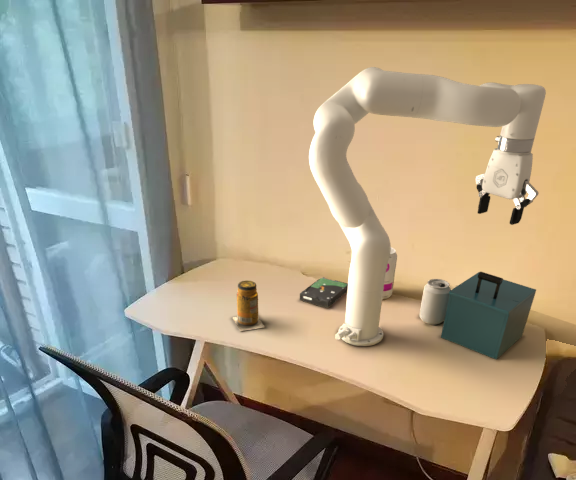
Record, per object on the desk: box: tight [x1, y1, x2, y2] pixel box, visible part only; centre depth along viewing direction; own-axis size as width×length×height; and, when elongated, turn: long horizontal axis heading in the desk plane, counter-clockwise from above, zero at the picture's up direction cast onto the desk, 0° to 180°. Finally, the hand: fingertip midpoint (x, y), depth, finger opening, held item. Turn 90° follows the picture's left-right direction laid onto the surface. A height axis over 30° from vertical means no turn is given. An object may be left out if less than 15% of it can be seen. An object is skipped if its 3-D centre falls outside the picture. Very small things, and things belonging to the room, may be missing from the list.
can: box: [418, 278, 452, 326], centre depth 158 cm, size 8×8×12 cm
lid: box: [449, 271, 537, 314], centre depth 143 cm, size 17×17×7 cm
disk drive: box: [299, 276, 348, 309], centre depth 172 cm, size 10×3×15 cm
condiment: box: [232, 280, 265, 331], centre depth 155 cm, size 7×8×12 cm
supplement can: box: [382, 246, 398, 300], centre depth 170 cm, size 8×8×15 cm
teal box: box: [440, 291, 537, 360], centre depth 149 cm, size 17×17×14 cm
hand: (497, 218), depth 136 cm, fingers open, 9 cm apart
